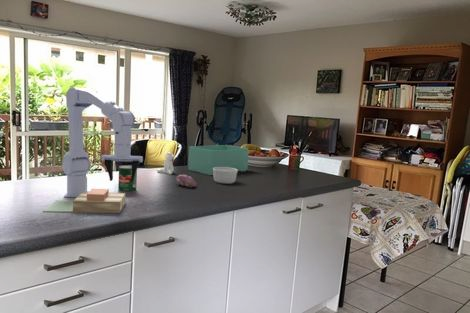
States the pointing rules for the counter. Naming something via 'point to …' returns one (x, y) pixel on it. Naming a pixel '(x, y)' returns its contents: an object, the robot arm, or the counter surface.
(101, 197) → the tile
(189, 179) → the pink lumpy figurine
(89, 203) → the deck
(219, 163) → the box
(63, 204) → the mat
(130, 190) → the canned tomato
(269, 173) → the counter surface
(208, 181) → the counter surface
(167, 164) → the seated beast figurine
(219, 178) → the ramekin
